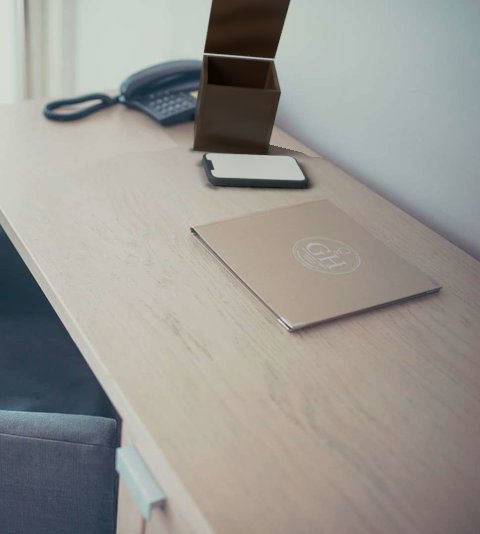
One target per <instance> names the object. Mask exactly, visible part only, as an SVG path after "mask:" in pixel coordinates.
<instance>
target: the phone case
mask: <svg viewBox="0 0 480 534" xmlns="http://www.w3.org/2000/svg"><path fill="white" fill-rule="evenodd" d="M201 163H202V166H203V170H204V172H205V175H206V178H207V182H208V183H210V184H211V185H214V186H233V187H235V186H236V187H261V188H262V187H263V188H290V189H291V188H292V189H293V188H294V189H303V188H305V187H306V186H307V184H308V177H307V175H306V174H305V172H304V170H303V168H302V167H301V165H300V162H299V161H298V159H296V157H294V156H290V155H275V154H274V155H273V154H272V155H271V154H267V155H250V154H229V153H219V152H206V153H204V154H203V155H202V159H201Z"/></svg>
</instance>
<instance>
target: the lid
mask: <svg viewBox="0 0 480 534" xmlns="http://www.w3.org/2000/svg"><path fill="white" fill-rule="evenodd" d="M290 3H291V0H211V4H210V11H209V17H208V21H207V22H208V23H207V28H206V35H205V42H204V47H203V54H207V55H219V56H232V57H244V58H256V59H269V60H275V59H276V56H277V52H278V48H279V44H280V40H281V37H282V34H283V30H284V26H285V22H286V20H287V15H288V12H289V9H290Z"/></svg>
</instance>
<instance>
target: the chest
mask: <svg viewBox="0 0 480 534" xmlns="http://www.w3.org/2000/svg"><path fill="white" fill-rule="evenodd" d="M200 67H201V68H200V75H199V81H198V87H197V88H198V89H197V95H196V101H195V102H196V103H195V108H196V109H195V108H194V116H193V117H194V118H193V119H194V120H193V146H192V149H193V151H200V152H208V153H223V154H250V155H268V151H269V147H270V143H271V138H272V135H273V130H274V126H275V122H276V117H277V113H278V109H279V105H280V100H281V96H282V90H281V86H280V81H279V77H278V73H277V72H278V71H277V67H276V64H275V59H265V58H253V57H241V56H228V55H216V54H203V55H202V62H201V66H200Z"/></svg>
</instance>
